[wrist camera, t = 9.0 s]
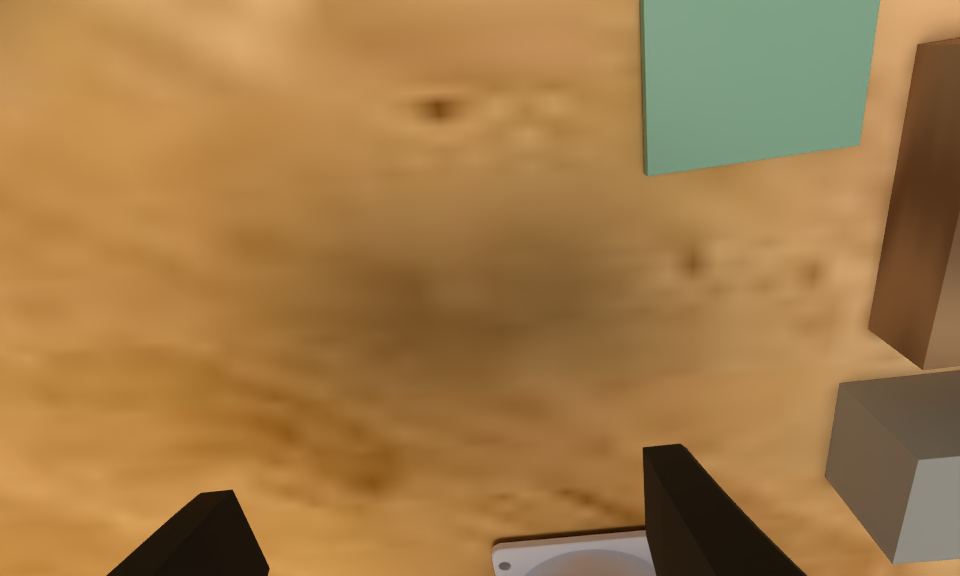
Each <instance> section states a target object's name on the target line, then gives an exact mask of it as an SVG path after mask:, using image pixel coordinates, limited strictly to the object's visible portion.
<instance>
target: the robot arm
mask: <svg viewBox="0 0 960 576" xmlns="http://www.w3.org/2000/svg"><path fill="white" fill-rule="evenodd" d="M643 469H644V497H645V525H646V530H641V531H630V532H619V533H607V534H596V535H585V536H574V537H563V538H551V539H540V540H529V541H518V542H507V543H499V544H497V545H495V546H494V547H493V548H492V563H493V567H494V572H495V576H807V575H806V574H805V573H804V572H803V571H802V570H801V569H800V568H799V567H798V566H797V565H796V564H795V563H793V562H792V561H791V560H790V559H789V558H788V557H787V556H786V555H785V554H784V553H783V552H782V551H781V550H780V549H779V548H778V547H777V546H776V545H775V544H774V543H773V542H772V541H771V540H770V539H769V538H768V537H767V536H766V535H765V534H764V533H763V532H762V531H761V530H760V529H759V528H758V527H757V526H756V525H755V523H754V522H753V521H752V520H751V519H750V518H749V517H748V516H747V515H746V514H745V513H744V512H743V511H742V510H741V509H740V508H739V507H738V506H737V505H736V503H735V502H734V501H733V500H732V499H731V498H730V497H729V496H728V495H727V494H726V493H725V492H724V491H723V489H722V488H721V487H720V486H719V485H718V484H717V483H716V482H715V481H714V479H713V478H712V477H711V476H710V475H709V474H708V473H707V472H706V470H705V469H704V468H703V467H702V466H701V465H700V463H699V462H698V461H697V460H696V459H695V458H694V457H693V455H692V454H691V453H690V452H689V451H688V449H687V448H685V447H684V446H683V445H681V444H672V445H663V446H653V447H643ZM269 569H270V568H269V566H268V564H267V562H266V559H265V557H264V555H263V553H262V551H261V549H260V547H259V545H258V542H257V540H256V538H255V536H254V534H253V532H252V530H251V528H250V525H249V523H248V521H247V519H246V517H245V515H244V513H243V511H242V509H241V506H240V504H239V502H238V500H237V498H236V496H235V494H234V492H233V490H225V491H215V492H206V493H200V494H199V495H198V496H196V497H195V498H194V499H193V500H191V501H190V502H189V503H188V504H187V505H185V506H184V507H183V508H182V509H181V510H180V511H178V512H177V513H176V514H175V515H174V516H173V517H171V518H170V519H169V520H168V521H167V522H166V523H165V524H164V525H162V526H161V527H160V528H159V529H158V530H157V531H156V532H155V533H153V534H152V535H151V536H150V537H149V538H148V539H147V540H146V541H145V542H143V543H142V544H141V545H140V546H139V547H138V548H137V549H136V550H135V551H133V552H132V553H131V554H130V555H129V556H128V557H127V558H126V559H125V560H123V561H122V562H121V563H120V564H119V565H118V566H117V567H116V568H114V569H113V570H112V571H111V572H110V573H109V574H108V575H107V576H268V572H269Z"/></svg>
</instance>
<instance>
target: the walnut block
mask: <svg viewBox="0 0 960 576" xmlns="http://www.w3.org/2000/svg"><path fill="white" fill-rule="evenodd" d="M868 329H869V330H870V331H872V332H873V333H874V334H876V335H877V336H878V337H880V338H881V339H882V340H884V341H885V342H886V343H887V344H889V345H890V346H891V347H893V348H894V349H895V350H897V351H898V352H899V353H901V354H902V355H903V356H905V357H906V358H907V359H909V360H910V361H911V362H913V363H914V364H915V365H917V366H918V367H919V368H921V369H922V370H927V369H936V368H945V367H954V366H960V38H955V39H948V40H942V41H936V42H930V43H923V44H918V45H917V51H916V57H915V62H914V68H913V74H912V80H911V85H910V91H909V97H908V103H907V108H906V114H905V120H904V125H903V131H902V137H901V143H900V148H899V154H898V160H897V166H896V171H895V177H894V183H893V189H892V194H891V200H890V206H889V212H888V217H887V223H886V229H885V235H884V240H883V246H882V252H881V258H880V263H879V269H878V275H877V281H876V286H875V292H874V298H873V303H872V309H871V315H870V321H869V326H868Z"/></svg>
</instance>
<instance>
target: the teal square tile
mask: <svg viewBox="0 0 960 576" xmlns="http://www.w3.org/2000/svg"><path fill="white" fill-rule="evenodd" d="M879 4H880V0H640V23H641V60H642V98H643V135H644V172H645V174H646V175H647V176H654V175H661V174H668V173H675V172H681V171H688V170H695V169H702V168H709V167H715V166H722V165H729V164H736V163H743V162H749V161H756V160H763V159H770V158H777V157H783V156H790V155H797V154H804V153H810V152H817V151H824V150H831V149H838V148H844V147H851V146H858V145H860V139H861V132H862V125H863V118H864V111H865V103H866V96H867V89H868V82H869V75H870V68H871V61H872V54H873V47H874V39H875V32H876V25H877V18H878V11H879Z"/></svg>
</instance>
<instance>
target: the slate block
mask: <svg viewBox="0 0 960 576" xmlns="http://www.w3.org/2000/svg"><path fill="white" fill-rule="evenodd" d="M825 477H826V479H827V480H828V481H829V482H830V484H831V485H832V486H833V488H834V489H835V490H836V491H837V493H838V494H839V495H840V497H841V498H842V499H843V501H844V502H845V503H846V504H847V506H848V507H849V508H850V510H851V511H852V512H853V514H854V515H855V516H856V517H857V519H858V520H859V521H860V523H861V524H862V525H863V526H864V528H865V529H866V530H867V532H868V533H869V534H870V536H871V537H872V538H873V539H874V541H875V542H876V543H877V545H878V546H879V547H880V548H881V550H882V551H883V552H884V554H885V555H886V556H887V558H888V559H889V560H890V561H891V563H892V564H901V563H913V562H926V561H938V560H951V559H960V370H959V371H949V372H940V373H931V374H921V375H912V376H902V377H893V378H884V379H874V380H865V381H856V382H846V383H839V390H838V396H837V402H836V409H835V415H834V422H833V428H832V434H831V441H830V447H829V453H828V460H827V466H826V472H825Z"/></svg>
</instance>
